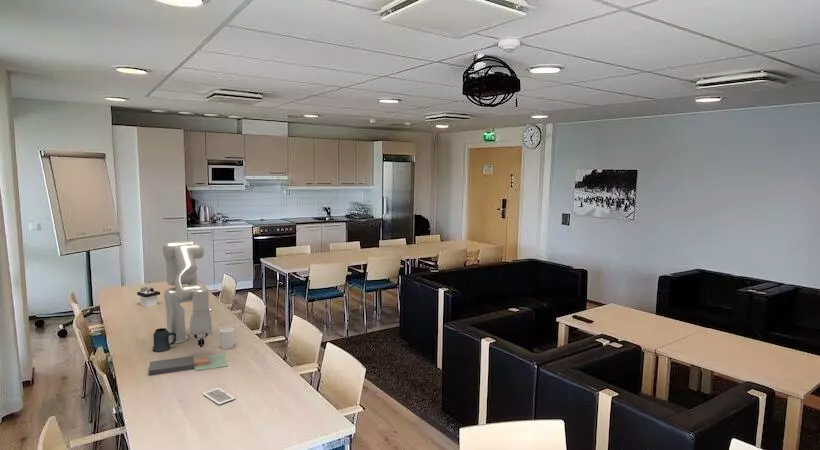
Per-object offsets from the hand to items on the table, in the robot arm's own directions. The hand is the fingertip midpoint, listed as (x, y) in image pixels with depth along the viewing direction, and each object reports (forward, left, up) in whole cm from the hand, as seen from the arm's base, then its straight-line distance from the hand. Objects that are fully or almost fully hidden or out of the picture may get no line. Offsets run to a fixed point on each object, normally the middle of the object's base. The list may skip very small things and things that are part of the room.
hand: (201, 346), depth 246 cm
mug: (-29, -18, -9) cm, 35 cm away
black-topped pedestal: (-129, -30, -10) cm, 133 cm away
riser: (+1, -14, -9) cm, 16 cm away
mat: (+1, +4, -9) cm, 10 cm away
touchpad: (+43, +5, -10) cm, 45 cm away
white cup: (-19, +14, -9) cm, 26 cm away
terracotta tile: (+1, 0, -9) cm, 9 cm away
